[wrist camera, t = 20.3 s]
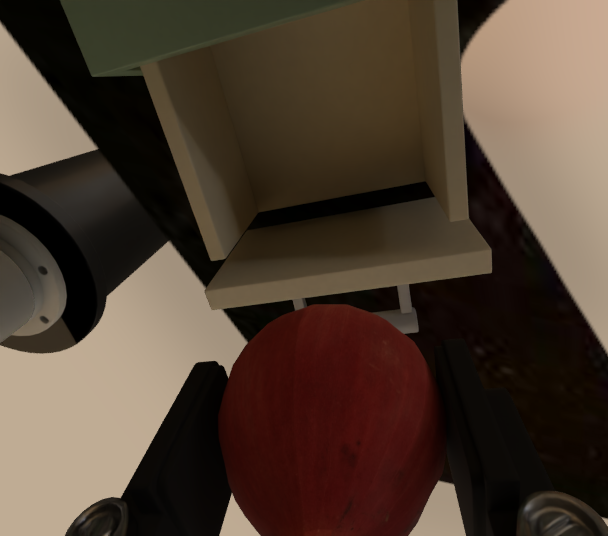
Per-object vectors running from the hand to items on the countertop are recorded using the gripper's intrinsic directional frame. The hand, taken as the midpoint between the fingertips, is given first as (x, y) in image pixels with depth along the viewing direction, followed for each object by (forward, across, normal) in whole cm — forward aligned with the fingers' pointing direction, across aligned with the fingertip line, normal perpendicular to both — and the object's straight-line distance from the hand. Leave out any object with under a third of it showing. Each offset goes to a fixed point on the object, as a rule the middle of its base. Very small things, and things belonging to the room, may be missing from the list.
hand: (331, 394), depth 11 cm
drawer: (+16, 0, -4) cm, 17 cm away
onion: (+3, 0, 0) cm, 3 cm away
